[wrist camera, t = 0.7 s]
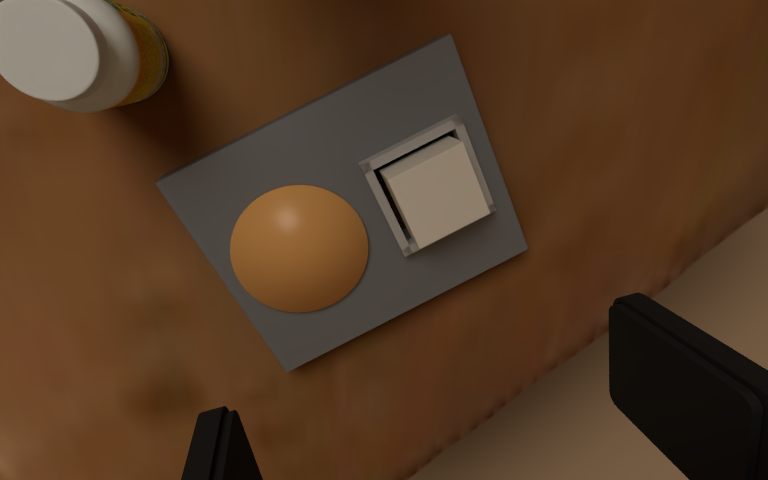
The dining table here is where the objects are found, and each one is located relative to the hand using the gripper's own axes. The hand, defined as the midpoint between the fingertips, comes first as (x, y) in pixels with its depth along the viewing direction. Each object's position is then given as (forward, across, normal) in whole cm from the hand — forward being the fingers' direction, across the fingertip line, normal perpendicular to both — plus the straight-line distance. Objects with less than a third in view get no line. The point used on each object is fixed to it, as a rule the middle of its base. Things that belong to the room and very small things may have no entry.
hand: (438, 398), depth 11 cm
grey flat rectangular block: (+23, -1, +2) cm, 23 cm away
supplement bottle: (+23, +11, -11) cm, 27 cm away
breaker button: (+20, -6, +1) cm, 21 cm away
